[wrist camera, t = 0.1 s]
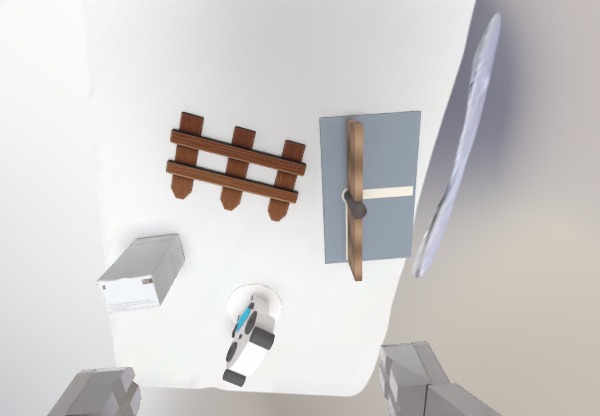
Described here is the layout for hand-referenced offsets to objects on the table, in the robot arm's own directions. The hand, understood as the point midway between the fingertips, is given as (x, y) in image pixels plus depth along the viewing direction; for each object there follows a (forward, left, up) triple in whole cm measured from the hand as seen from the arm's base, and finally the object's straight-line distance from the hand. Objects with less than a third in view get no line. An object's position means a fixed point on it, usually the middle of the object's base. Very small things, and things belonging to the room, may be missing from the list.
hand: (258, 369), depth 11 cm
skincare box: (+19, -24, -48) cm, 57 cm away
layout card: (+11, +16, -48) cm, 52 cm away
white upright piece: (+34, -8, -48) cm, 60 cm away
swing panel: (+4, +12, -47) cm, 49 cm away
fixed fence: (+17, +12, -48) cm, 52 cm away
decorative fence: (+5, -8, -49) cm, 50 cm away
